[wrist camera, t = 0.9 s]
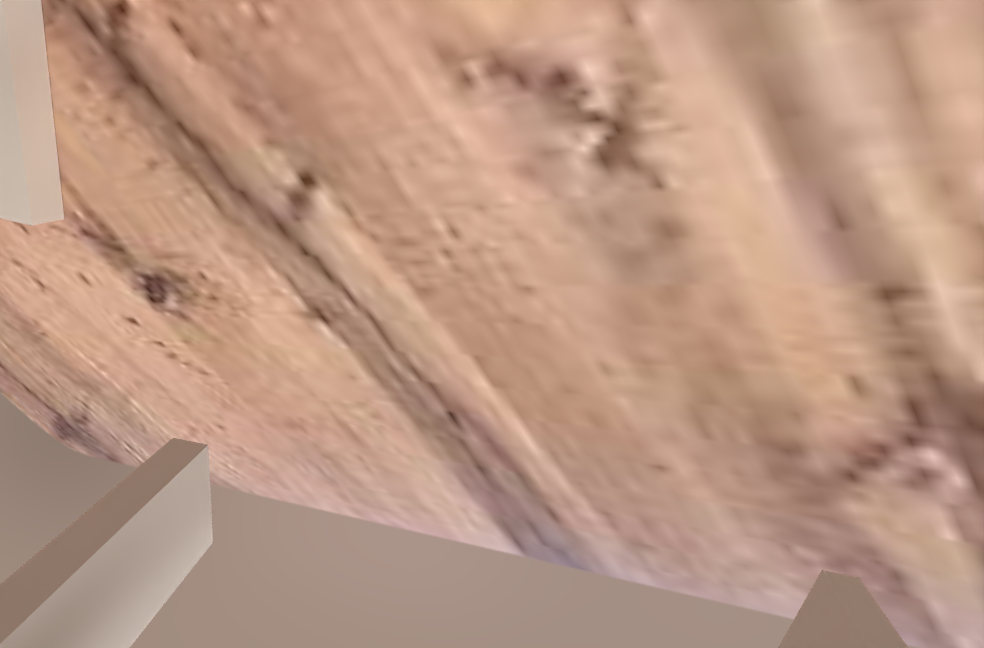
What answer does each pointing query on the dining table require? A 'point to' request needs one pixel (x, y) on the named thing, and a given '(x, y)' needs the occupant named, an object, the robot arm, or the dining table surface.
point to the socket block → (26, 119)
